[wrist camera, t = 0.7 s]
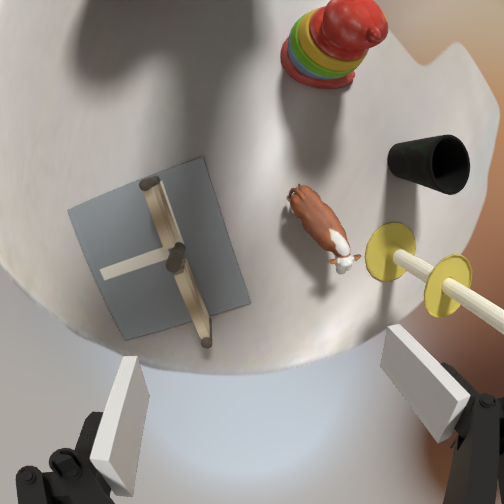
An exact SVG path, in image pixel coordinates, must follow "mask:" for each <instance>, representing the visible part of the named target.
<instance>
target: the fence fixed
mask: <svg viewBox="0 0 504 504" xmlns="http://www.w3.org/2000/svg"><path fill="white" fill-rule="evenodd" d="M139 188H140V189H141V190H142V191H143V192H144V195H145V198H146V201H147V204H148V207H149V209H150V212H151V215H152V218H153V221H154V223H155V226H156V229H157V232H158V234H159V237H160V240H161V242H162V245H163V248H164V250H167V249H170V248H172V250H171V252H170V254H169V257H168V259H167V262H166V268H167V270H168V271H169V272H172V273H175V272H178V271H179V270H180V268H181V264H182V260H183V257H184V253H185V245H184V244H183V243H181V242H177V243H176V241H177V238H178V236H179V235H178V232H177V229H176V226H175V224H174V221H173V218H172V215H171V212H170V209H169V207H168V204H167V201H166V198H165V195H164V192H163V189H162V186H161V183H160V178H159V177H158V176H152V177H149V178H145V179H142V180H141V181H140V182H139Z"/></svg>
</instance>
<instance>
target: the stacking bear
mask: <svg viewBox="0 0 504 504" xmlns="http://www.w3.org/2000/svg"><path fill="white" fill-rule="evenodd" d="M387 34H388V23H387V20H386V17H385V15H384V13H383V12H382V10H381V9H380V7H379V6H378V5H377V4H376V3H375V2H374V1H373V0H331V1H329V3H328V4H327V6H325V7H321V8H317V9H315V10H313V11H311V12H309V13H307V14H305V15H304V16H302V17H301V18H300V19H299V20H298V21H297V22H296V23H295V24H294V26H293V28H292V29H291V32H290V35H289V37H288V38H287V39H286V41H285V42H284V44H283V46H282V49H281V60H282V63H283V65H284V68H285V69H286V71H287V72H288V73H289V74H290V75H291V77H293V78H294V79H295V80H297V81H298V82H300V83H302V84H305V85H308V86H312V87H316V88H324V89H334V88H340V87H344V86H347V85H349V84H351V83H352V82H353V78H354V77H355V72H354V70H355V69H356V68H357V67H358V66H359V65H360V63H361V62H362V61H363V59H364V58H365V56H366V55H367V52H368V50H369V48H371V47H374V46H376V45H378V44H379V43H381V42H382V41H383V40H384V39H385V38H386V36H387Z"/></svg>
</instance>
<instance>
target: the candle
mask: <svg viewBox="0 0 504 504" xmlns="http://www.w3.org/2000/svg"><path fill="white" fill-rule="evenodd" d="M415 250H416V246H415V238H414V236H413V234H412V232H411V231H410V229H409V228H408V227H406V226H405V225H403V224H402V223H395V222H391V223H388V224H385V225H382V226H381V227H380V228H379V229H378V230H376V231H375V232H374V233H373V235H372V236H371V238H370V240H369V242H368V244H367V248H366V253H365V260H366V266H367V269H368V270H369V272H370V273H371V275H372V276H373V277H375V278H377V279H379V280H380V281H392V280H394V279H396V278H399V277H401V276H402V275H403V274H404V273H405V272H406V271H408V272H410V273H411V274H413V275H414V276H416V277H417V278H419V279H421V280H422V281H424V282H425V283H426V286H425V290H424V305H425V306H426V309H427V311H428V313H429V314H431V315H432V316H434V317H436V318H440V317H446V316H448V315H450V314H452V313H453V312H455V311H456V310H457V309H458V308H459V306H460V305H463V306H464V307H465V308H467V309H468V310H470V311H471V312H473V313H474V314H476V315H477V316H478V317H480V318H481V319H483V320H484V321H486V322H487V323H488V324H490V325H491V326H493V327H494V328H495V329H497V330H498V331H500V332H501V333H502V334H504V310H503V309H501V308H500V307H498V306H496V305H495V304H493V303H492V302H490V301H488V300H487V299H485V298H483V297H482V296H480V295H479V294H477V293H475V292H474V291H472V290H470V285H471V282H472V269H471V266H470V263H469V261H468V260H467V259H466V258H465V257H464V256H463V255H457V254H452V255H450V256H447V257H445V258H443V259H442V260H441V261H440V262H439V263H438V264H437V265H436V266H435V267H434V266H432V265H430V264H428V263H426V262H425V261H423V260H421V259H419V258H417V257H415V256H414V255H415Z"/></svg>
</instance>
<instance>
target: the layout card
mask: <svg viewBox="0 0 504 504" xmlns="http://www.w3.org/2000/svg"><path fill="white" fill-rule="evenodd" d="M152 176H158V177H159V178H160V183H161V186H162V189H163V192H164V195H165V198H166V201H167V204H168V207H169V209H170V212H171V215H172V218H173V221H174V224H175V226H176V229H177V232H178V235H179V236H178V238H177V241H176V243H177V242H181V243H183V244H184V245H185V253H184V257H183V259H185V258H187V260H188V263H189V266H190V268H191V271H192V274H193V276H194V279H195V281H196V284H197V286H198V289H199V292H200V294H201V297H202V299H203V302H204V304H205V307H206V309H207V311H208V314H209V316H211V315H215V314H218V313H221V312H224V311H227V310H231V309H234V308H237V307H240V306H243V305H246V304H249V303H251V302H250V299H249V296H248V293H247V290H246V287H245V284H244V281H243V278H242V275H241V272H240V269H239V266H238V263H237V260H236V257H235V254H234V251H233V248H232V245H231V242H230V239H229V236H228V233H227V230H226V227H225V224H224V221H223V218H222V215H221V212H220V209H219V206H218V203H217V199H216V196H215V193H214V190H213V187H212V184H211V181H210V178H209V175H208V171H207V168H206V165H205V162H204V159H203V157H201V158H198V159H195V160H192V161H189V162H186V163H183V164H181V165H178V166H175V167H172V168H169V169H166V170H164V171H161V172H158V173H156V174H153V175H150V176H148V177H145V178H149V177H152ZM145 178H142V179H145ZM142 179H140V180H137V181H135V182H132V183H129V184H127V185H124V186H122V187H120V188H117V189H115V190H112V191H110V192H107V193H105V194H103V195H100V196H98V197H96V198H93V199H91V200H89V201H87V202H84V203H82V204H80V205H78V206H75V207H73V208H71V209H69V210H67V211H68V214H69V217H70V220H71V222H72V225H73V228H74V230H75V233H76V236H77V238H78V241H79V243H80V246H81V248H82V251H83V253H84V256H85V258H86V260H87V263H88V265H89V267H90V270H91V272H92V274H93V277H94V279H95V281H96V283H97V285H98V288H99V290H100V292H101V294H102V296H103V298H104V300H105V302H106V304H107V306H108V308H109V311H110V313H111V315H112V316H113V318H114V320H115V322H116V324H117V326H118V328H119V330H120V332H121V334H122V336H123V338H124V339H125V340H128V339H132V338H136V337H139V336H143V335H147V334H150V333H154V332H157V331H161V330H164V329H168V328H171V327H175V326H178V325H181V324H185V323H188V322H192V321H193V320H192V318H191V316H190V313H189V311H188V309H187V306H186V304H185V302H184V299H183V297H182V295H181V292H180V290H179V287H178V285H177V283H176V280H175V278H174V274H175V273H172V272H169V271H168V270H167V268H166V262H167V259H168V257H169V254H170V252H171V250H172V248H170V249H167V250H164V248H163V245H162V242H161V240H160V237H159V234H158V232H157V229H156V226H155V223H154V221H153V218H152V215H151V212H150V209H149V207H148V204H147V201H146V198H145V195H144V192H143V191H142V190H141V189H140V188H139V182H140V181H141V180H142Z"/></svg>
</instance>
